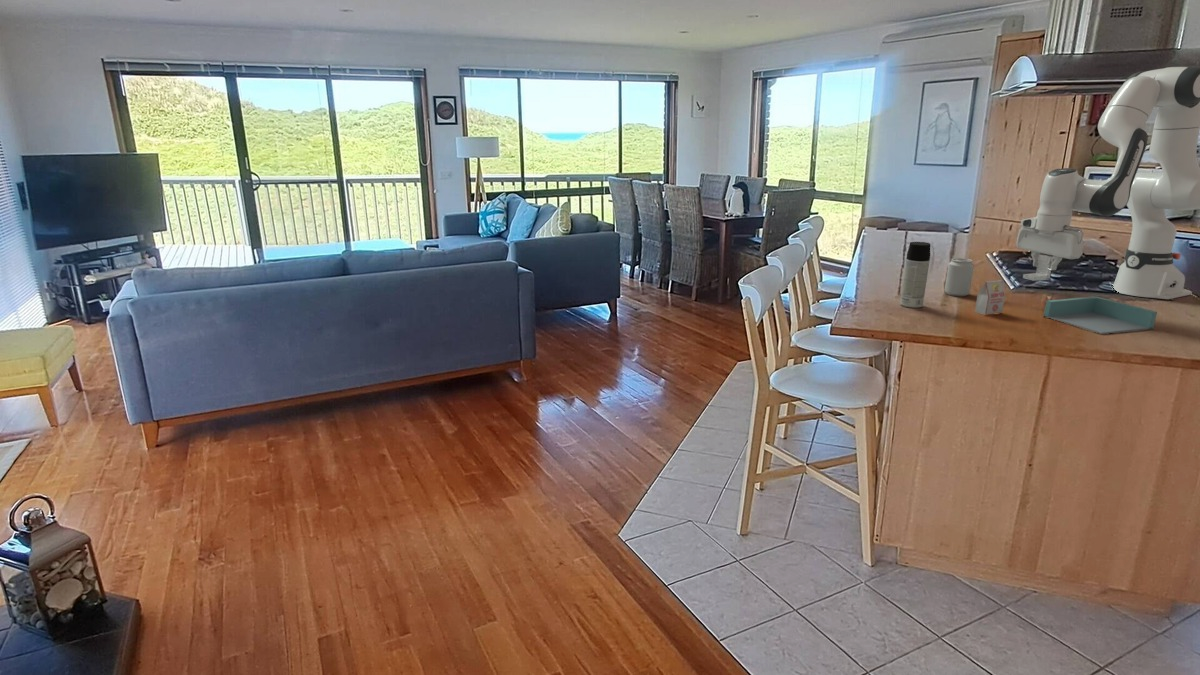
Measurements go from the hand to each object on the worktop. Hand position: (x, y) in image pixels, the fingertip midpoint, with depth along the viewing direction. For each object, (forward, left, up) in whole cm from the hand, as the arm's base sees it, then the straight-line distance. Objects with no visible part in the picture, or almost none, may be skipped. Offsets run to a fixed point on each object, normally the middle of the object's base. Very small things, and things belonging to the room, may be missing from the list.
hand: (1044, 268), depth 203 cm
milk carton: (+22, +4, -12) cm, 26 cm away
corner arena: (+1, +21, -12) cm, 24 cm away
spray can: (+38, -10, -12) cm, 41 cm away
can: (+14, -18, -12) cm, 26 cm away
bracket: (+2, 0, -3) cm, 4 cm away
